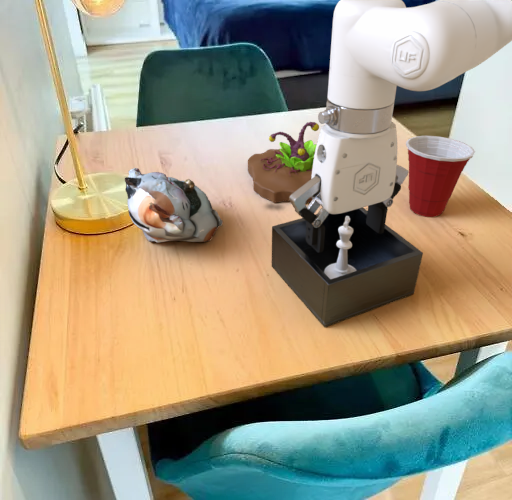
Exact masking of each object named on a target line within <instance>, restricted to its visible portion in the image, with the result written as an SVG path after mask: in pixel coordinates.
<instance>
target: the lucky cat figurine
mask: <svg viewBox="0 0 512 500" xmlns="http://www.w3.org/2000/svg"><path fill="white" fill-rule="evenodd" d="M124 182H125V192H126V195H127V208H128V210H127V211H128V214H129V215H128V216H129V218H130V219H131V222H132V224H133V225H134V226H136V227H137V228H138V229H139V230H140V231H142V233H143V235H144V238H145V239H146V240H147V241H148V242H149V243H151V242H156V243H158V244H160V243H166V242H177V241H179V242H192V243H203V242H204V243H208V242H210V241H211V240H212V239H213V237H214V236H215V233H216V231H218V228H220V227H221V226H223V220H222V218H221V217H220V215H219V212H218V211H217V210H216V209H214V208H213V206H212V203H211V201H210V199H209V196H208V195H207V194H206V192H205V191H203V190H202V189H201V188H199V186H198V185H196V184H195V182H194V181H193V180H191V179H190V178H187V179H185V180H180V179H178V178H176V177H173V176H167V175H166V174H165V173H163V172H159V171H154V172H153V171H152V172H148V173H142V172H141V171H140V169H139V167H134V168H131V169H129V170H128V177H127V176H126V177H124Z"/></svg>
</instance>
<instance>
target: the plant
mask: <svg viewBox="0 0 512 500" xmlns="http://www.w3.org/2000/svg"><path fill="white" fill-rule="evenodd" d="M308 127H310V129H311V130H312V131H313V132H317V131H318V130H319V129H320V125H319V123H317V122H316V121H309V122H306V123H305V124H304V125H303V126H302V128H301V129H300V131H299V133H298V138H297V140H296V139H294V138H293V137H292V135H290V134H288V133H286V132H283V131H277V132H275V133H272V134H270V136H269V135H268V136H269V137H268V140H269V142H271V143H273V142H275V141H276V139H277V136H283V138H284V137H285V138H286V140H287V141H288V142H289V143H286V142H283V141H280V142H279V144H278V145H279V147H280V148H278V149H277V148H275V149H274V148H269V149H267V150H266V151H264V152H262V153H254V154H252V155H251V156H250V157H249V158H248V159H247V173H248V174H249V176H250V177H251V178H252V181H253V182H252V183H253V185H252V187H253V191H254V192H255V193H257V194H258V195H259V196H260V197H261V198H263V199H266V200H269V201H270V202H271V203H274V204H275V203H281V202H290V200H289V197H290V195H291V194H292V193H294V192H295V191H296V190H298V189H299V188H300V187H302V186H303V185H304V184H306V183H307V182H308V181H309V180H311V177H312V168H313V161H314V155H315V150H316V145H317V143H315V144H314V141H313V140H311V139H309V140H307V141H304V140H305V139H304V137H305V132H306V130H307V128H308ZM312 200H313V199H312V197H310V198H309V199H308V200H307V201H306V203H305V204H308V203H310V202H311V201H312ZM290 203H291V202H290Z"/></svg>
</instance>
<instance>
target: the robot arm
mask: <svg viewBox="0 0 512 500" xmlns="http://www.w3.org/2000/svg"><path fill="white" fill-rule="evenodd" d="M511 42H512V0H435V1H432V2H429V3H427V4H426V3H425V4H422V5H417V6H411V7H410V6H409V7H407V6H406V4H405V2H404V1H403V0H339V1H338V2H337V3H336V5H335V7H334V10H333V17H332V28H331V42H330V43H331V44H330V55H329V59H330V60H329V69H328V70H329V71H328V85H327V96H326V97H327V98H326V104H325V105H326V106H325V109H324V111H319V112H318V114H317V119H318V123H319V124H321V127H320V131H319V134H318V137H317V141H316V144H317V145H316V150H315V155H314V161H313V168H312V177H311V180H309V181H308V182H307V183H306V184H304V185H303V186H302V187H300V188H299V189H298V190H296V191H295V192H294V193H292V194H291V195H290V197H289V200H290V203H291V205H292V207H293V209H294V211H295V213H296V214H298V215H299V217H301V218H303V219H305V220H306V241H307V243H308V244H309V245H311V246H312V247H313V248H314V249H315V250H316V251H317V252H318V253H320V252H322V251H323V250H324V239H325V226H324V225H323V224H322V223H323V222H324V220H325V219H326V218H327V216H328V215H329V214H340V213H344V212H348V211H352V210H355V209H359V208H366V207H367V211H368V212H367V219H366V224H367V225H368V226H369V227H371V228H372V229H373V230H374V231H376V232H377V233H379V234H381V233H384V228H385V224H386V221H387V215H388V209H389V208H390V207H391V206H392V205H393V204H394V199H395V197H396V196H397V195H398V194H399V192H401V189H402V185H403V183H404V182H405V180H406V178H407V176H409V169H407V168H405V167H403V166H402V165H399V164H398V133H397V132H398V131H397V126H396V124H395V123H394V122H393V121H392V120H393V113H394V107H395V101H396V100H395V99H396V93H397V87H398V88H399V87H400V88H402V89H405V90H408V91H411V92H412V91H413V92H427V91H431V90H434V89H437V88H440V87H441V86H443V85H445V84H446V83H447V84H448V82H449V83H450V82H451V81H452V80H454V79H456V78H457V77H459V76H461V75H462V74H465V73H466V72H468V71H471V70H472V69H474V68H476V67H478V66H480V65H481V64H483V63H484V62H486V61H488V59H490V58H491V57H493V56H494V55H495V54H496V53H498V52H499V51H500V50H503V48H504V47H506V46H507V45H508V44H509V43H511ZM310 197H312V199H313V200H312V201H311V202H309V204H308V205H307V203H306V201H307V200H308V199H309V198H310ZM320 207H321V208H320ZM319 208H320V209H319ZM318 209H319V211H318ZM317 211H318V212H317ZM316 212H317V213H316ZM315 214H317V215H315Z"/></svg>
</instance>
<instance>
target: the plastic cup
mask: <svg viewBox="0 0 512 500" xmlns="http://www.w3.org/2000/svg"><path fill="white" fill-rule="evenodd" d="M405 146H406V148H407V156H408V158H407V160H408V204H409V209H410V210H411V212H413V213H414V214H416V215H418V216H422V217H424V218H425V217H427V218H430V217H431V218H434V217H439V216H440V215H442V214H443V212H444V211H445V209H446V207H447V204H448V202H449V200H450V199H451V197H452V194H453V193H454V190H455V188H456V186H457V183H458V182H459V179H460V177H461V175H462V172H463V171H464V170H465V167H466V166H467V164H468V162H469V161H470V160H471V159H472V158H473V157H474V155H475V153H476V151H475V149H474V148H473V146H471V145H469V144H467V143H466V142H463V141H460V140H457V139H455V138H449V137H443V136H436V135H417V136H413V137H409V138H408V139H407V140H406V141H405Z"/></svg>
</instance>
